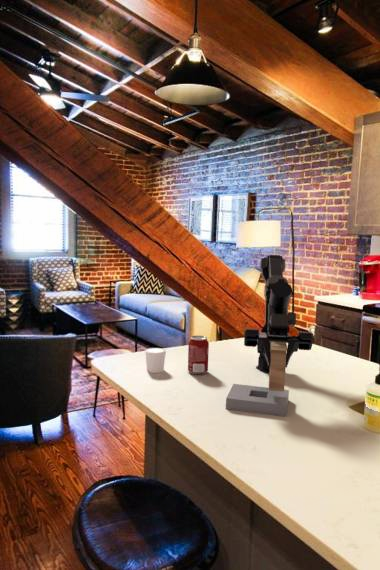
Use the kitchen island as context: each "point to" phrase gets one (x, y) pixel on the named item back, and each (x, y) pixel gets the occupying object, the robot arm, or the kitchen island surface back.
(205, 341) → the soda can
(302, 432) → the kitchen island surface
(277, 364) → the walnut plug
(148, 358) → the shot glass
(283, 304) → the robot arm
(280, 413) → the socket board
